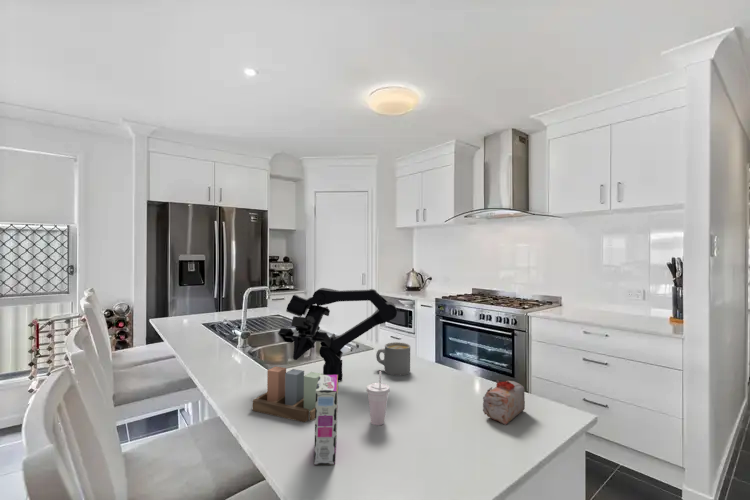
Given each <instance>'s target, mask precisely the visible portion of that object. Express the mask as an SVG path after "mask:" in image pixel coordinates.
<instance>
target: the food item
mask: <svg viewBox="0 0 750 500" xmlns="http://www.w3.org/2000/svg"><path fill="white" fill-rule="evenodd" d="M525 393H526V392H525V387H524V386H523V385H522V384H520V383H518V382H516V381H513V380H506V381H499V379H496V386H495V387H494V388H493V386H492V387H490V388H489V389H487V390H486V392H485V394H484V396H482V400H483V403H482V411H483V413H484V415H485V416H487V417H488V418H490V419H492V420H493V421H495V422H499V423H500V424H503V425H505V426H506V425H508V424H509V423H510V422H511V421H512V420H513V419H515V417H517V416H518V415H519V414H520V413H522V412H523V411H525V408H526V407H525V406H526V405H525V404H526V403H525V402H526V401H525V399H526V397H525Z"/></svg>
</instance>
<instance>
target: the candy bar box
mask: <svg viewBox="0 0 750 500" xmlns="http://www.w3.org/2000/svg"><path fill="white" fill-rule="evenodd" d="M338 387H339V381H338V375H319V378H318V383H317V387H316V406H315V419H314V452H313V453H314V454H313V455H314V456H313V457H314V459H313V465H314V466H332V465H333V466H334V465H335V464H336V454H337V440H338V439H337V438H338V408H339V405H338V403H339V402H338V400H339V393H338V392H339V388H338Z"/></svg>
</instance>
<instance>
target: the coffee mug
mask: <svg viewBox="0 0 750 500" xmlns="http://www.w3.org/2000/svg"><path fill="white" fill-rule="evenodd" d="M382 353H383V359H381V354H382ZM375 358H376V360H377V362H378V363H379V364H381V365H383V367H384V373H386V374H387V375H391V376H399V377H400V376H407V375H408V374H410V373H411V345H410V344H408V343H405V342H396V341H395V342H394V341H393V342H388V343H385V344H384V348H382V347H381V348H379V349H378V350H377V351H376V356H375Z"/></svg>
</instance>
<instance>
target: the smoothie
mask: <svg viewBox="0 0 750 500" xmlns="http://www.w3.org/2000/svg"><path fill="white" fill-rule="evenodd" d="M378 374H379V376H378V382H373V383H369V384H368V385H366V393H367V395H368V396H367V399H368V407H369V415H370V416H369V417H370V423H371V425H374V426H381V425H384V424H385V421H386V420H385V419H386V413H387V405H388V398H389V393H390V385H388V384H386V383H383V382H382V371H381V370H378Z"/></svg>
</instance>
